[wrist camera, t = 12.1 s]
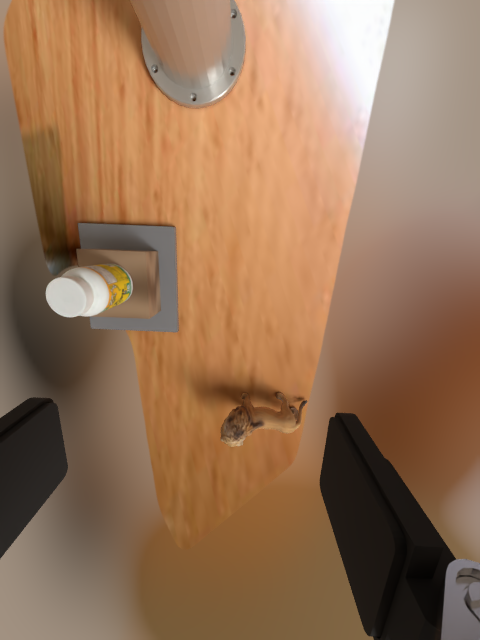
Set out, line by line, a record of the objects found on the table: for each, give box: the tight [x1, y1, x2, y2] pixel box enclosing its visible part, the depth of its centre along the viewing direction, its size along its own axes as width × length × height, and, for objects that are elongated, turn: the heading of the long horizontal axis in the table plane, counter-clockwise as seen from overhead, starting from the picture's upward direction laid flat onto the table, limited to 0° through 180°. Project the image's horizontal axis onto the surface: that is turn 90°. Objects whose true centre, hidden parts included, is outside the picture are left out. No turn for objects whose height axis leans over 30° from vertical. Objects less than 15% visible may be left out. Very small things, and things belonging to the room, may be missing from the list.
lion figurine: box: [221, 392, 307, 447], centre depth 41 cm, size 15×5×9 cm, turn 97°
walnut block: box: [76, 249, 161, 319], centre depth 37 cm, size 9×9×5 cm
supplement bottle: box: [46, 264, 133, 317], centre depth 29 cm, size 5×5×10 cm
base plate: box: [78, 223, 179, 332], centre depth 39 cm, size 16×14×1 cm
